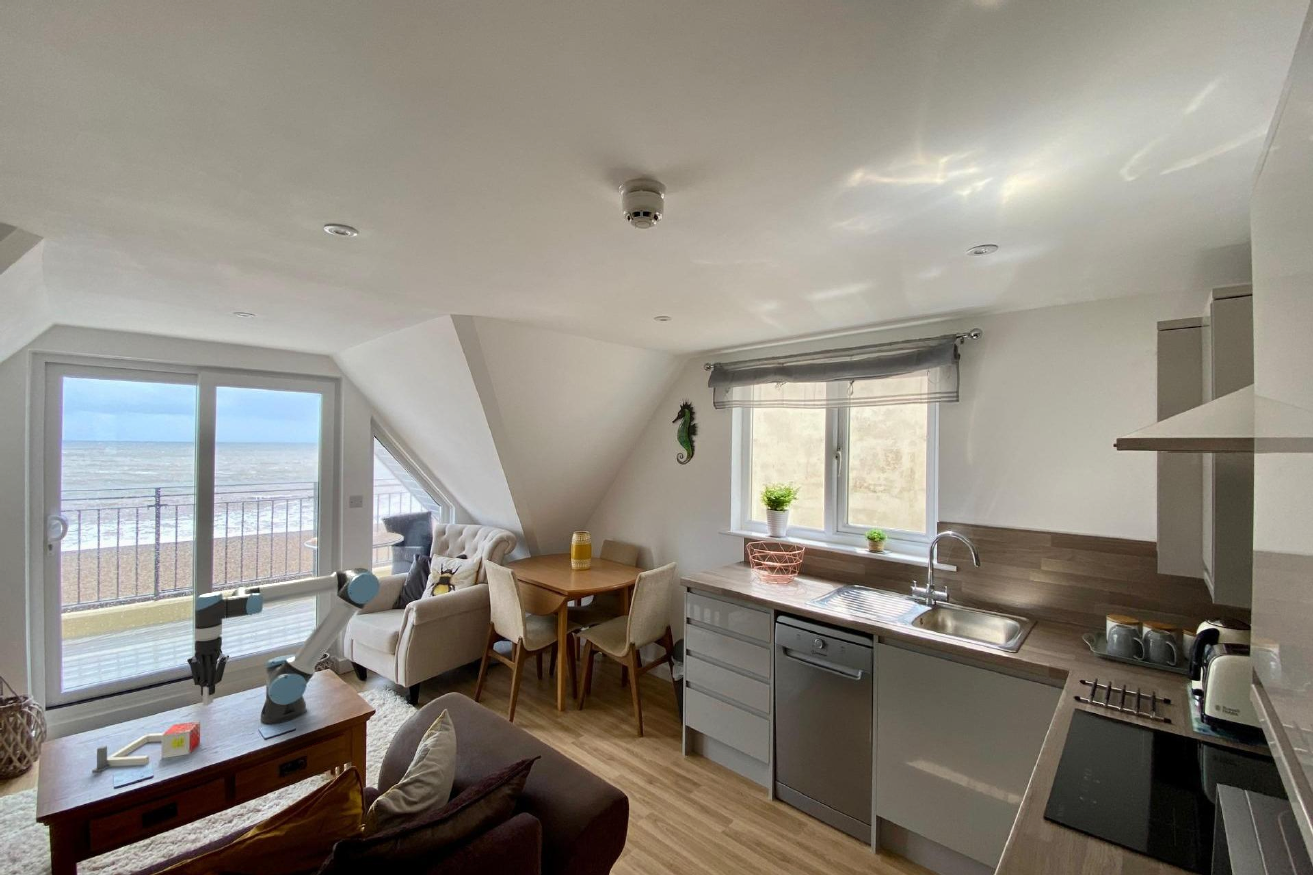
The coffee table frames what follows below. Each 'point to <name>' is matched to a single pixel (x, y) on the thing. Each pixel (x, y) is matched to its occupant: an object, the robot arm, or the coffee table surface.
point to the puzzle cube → (180, 739)
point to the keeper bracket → (119, 758)
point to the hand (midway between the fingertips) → (207, 703)
